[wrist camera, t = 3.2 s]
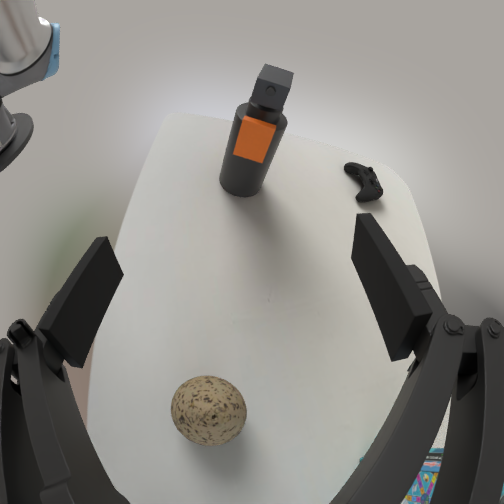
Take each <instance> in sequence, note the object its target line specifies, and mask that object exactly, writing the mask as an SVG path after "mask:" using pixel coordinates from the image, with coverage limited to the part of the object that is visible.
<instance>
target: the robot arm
mask: <svg viewBox="0 0 504 504" xmlns="http://www.w3.org/2000/svg"><path fill="white" fill-rule="evenodd" d="M59 37H60V26H59V23H51V24H49V23H48V21H46V20H45V19H43V18H40V17H39V16H38V12H37V8H36V4H35V0H0V155H1V154H2V153H3V152H4V151H5V150H6V149H7V148H8V147H9V146H10V144H11V143H12V142H13V140H14V139H15V137H16V135H17V132H18V126H17V123H16V120H15V118H14V117H13V116H12V115H11V114H10V112H9V111H8V110H7V109H6V107H5V106H4V105H3V102H2V99H1V98H3V97H4V96H6V95H8V94H11V93H13V92H15V91H17V90H19V89H21V88H24V87H26V86H28V85H30V84H33V83H36V82H38V81H43V80H44V79H46V78H48V77H50V76H52V75H54V74H55V73H56V72H57V71H58V68H59ZM351 259H352V262H353V264H354V266H355V268H356V271H357V273H358V275H359V278H360V280H361V282H362V285H363V287H364V289H365V292H366V294H367V297H368V299H369V302H370V304H371V307H372V309H373V312H374V314H375V317H376V320H377V322H378V325H379V328H380V330H381V333H382V336H383V339H384V342H385V344H386V347H387V350H388V353H389V356H390V359H391V362H393V361H397V360H401V359H406V358H408V357H409V355H410V353H411V352H412V350H413V351H414V354H415V356H416V358H415V359H414V361H413V363H412V364H411V366H410V367H409V369H408V370H407V371H409V373H408V375H407V378H406V380H405V382H404V384H403V387H402V389H401V391H400V393H399V395H398V397H397V399H396V401H395V403H394V405H393V407H392V409H391V411H390V413H389V415H388V417H387V419H386V421H385V422H384V424H383V426H382V428H381V430H380V431H379V433H378V435H377V437H376V438H375V440H374V442H373V443H372V445H371V447H370V448H369V450H368V451H367V453H366V454H365V456H364V458H363V459H362V461H361V462H360V464H359V465H358V467H357V468H356V469H355V471H354V472H353V474H352V475H351V476H350V478H349V479H348V481H347V482H346V483H345V485H344V486H343V487H342V489H341V490H340V491H339V492H338V494H337V495H336V496H335V497H334V499H333V500H332V501H331V502H330V503H329V504H401V503H402V501H403V500H404V498H405V496H406V495H407V493H408V491H409V490H410V488H411V486H412V484H413V483H414V481H415V479H416V477H417V475H418V474H419V472H420V470H421V468H422V466H423V464H424V462H425V460H426V458H427V456H428V454H429V451H430V449H431V447H432V445H433V443H434V440H435V438H436V436H437V433H438V431H439V428H440V426H441V423H442V420H443V418H444V415H445V412H446V409H447V406H448V403H449V400H450V397H451V406H450V415H449V422H448V429H447V435H446V441H445V446H444V451H443V456H442V461H441V465H440V469H439V473H438V477H437V480H436V484H435V487H434V491H433V494H432V497H431V500H430V503H429V504H499V502H500V498H501V494H502V490H503V485H504V327H503V326H502V325H501V323H500V322H499V321H497V320H496V319H493V318H486V319H484V321H483V322H482V323H481V325H480V326H468V325H464V323H463V322H462V321H461V319H459V318H458V317H456V316H455V315H451V314H448V313H447V311H446V309H445V308H444V305H443V304H442V302H441V300H440V299H439V297H438V295H437V293H436V292H435V290H434V289H433V287H432V285H431V284H430V282H428V279H427V277H426V276H425V274H424V273H423V271H422V270H420V269H419V268H418V267H417V266H415V265H405V263H404V262H403V260H402V258H401V257H400V255H399V254H398V252H397V251H396V249H395V248H394V246H393V245H392V243H391V242H390V240H389V239H388V237H387V236H386V234H385V233H384V231H383V230H382V228H381V227H380V226H379V224H378V223H377V221H376V220H375V219H374V217H373V216H372V214H371V213H362V214H357V216H356V225H355V233H354V241H353V248H352V255H351ZM123 275H124V274H123V272H122V270H121V267H120V265H119V263H118V261H117V259H116V256H115V254H114V252H113V249H112V247H111V245H110V242H109V240H108V237H107V236H106V237H98V238H96V239H95V240H94V242H93V243H92V244H91V246H90V247H89V249H88V250H87V252H86V253H85V254H84V255H83V257H82V258H81V260H80V261H79V263H78V264H77V266H76V267H75V268H74V270H73V271H72V273H71V275H70V276H69V278H68V279H67V281H66V282H65V284H64V285H63V287H62V288H61V290H60V291H59V292H58V293H57V294H56V295H55V296H54V298H53V299H52V301H51V302H50V305H49V306H48V308H47V311H45V313H44V314H43V316H42V318H41V320H40V322H39V323H38V325H37V327H36V329H35V331H33V330H32V329H31V327H30V326H29V325H28V324H27V322H26V321H25V320H24V319H18V320H16V321H15V322H14V323H12V325H11V326H10V327H9V329H8V332H7V336H8V338H9V339H10V340H11V341H12V342H13V345H12V344H11V343H10V341H9V340H8V339H6V338H2V339H1V340H0V504H130V503H129V501H128V500H127V499H126V498H125V497H124V496H123V495H121V494H120V493H119V492H118V491H117V490H116V489H115V488H114V486H113V484H112V483H111V481H110V479H109V477H108V475H107V473H106V471H105V470H104V468H103V466H102V464H101V462H100V460H99V457H98V455H97V453H96V451H95V449H94V447H93V444H92V442H91V440H90V438H89V435H88V433H87V430H86V428H85V425H84V423H83V420H82V418H81V415H80V412H79V409H78V407H77V404H76V401H75V398H74V395H73V391H72V388H71V385H70V381H69V378H68V374H67V371H66V368H65V366H64V365H63V364H62V363H63V361H64V359H65V360H66V361H67V362H68V363H69V364H70V366H72V367H78V368H83V366H84V363H85V360H86V358H87V355H88V353H89V350H90V348H91V345H92V343H93V340H94V338H95V336H96V333H97V331H98V328H99V326H100V324H101V322H102V319H103V317H104V315H105V313H106V311H107V308H108V306H109V304H110V302H111V300H112V298H113V296H114V293H115V291H116V289H117V287H118V285H119V283H120V281H121V279H122V277H123ZM11 375H12V376H14V378H16V379H17V384H15V383H14V382H13V381H12V380H11ZM451 394H452V395H451Z"/></svg>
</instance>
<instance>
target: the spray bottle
mask: <svg viewBox="0 0 504 504" xmlns="http://www.w3.org/2000/svg"><path fill="white" fill-rule="evenodd" d="M293 74H294V73H292V72H290V71H287V70H284V69H281V68H278V67H274V66H271V65H268V64H265V65H264V67H263V68H262V70H261V72H260V74H259V76H258V77H257V80H256V83H255V86H254V90H253V93H252V96H251V97H250V99H249V102H248V103H244V104H241V105H240V106H239V107H238V108H237V110H236V113H235V117H234V121H233V125H232V128H231V132H230V136H229V140H228V144H227V148H226V152H225V156H224V160H223V164H222V169H221V173H220V178H219V179H220V183H221V185H222V187H223V188H224V189H225V190H226V191H227V192H229V193H230V194H232V195H235V196H239V197H249V196H253V195H255V194H256V193H257V192H258V191H259V190H260V188H261V186H262V183H263V181H264V178H265V176H266V174H267V171H268V169H269V167H270V164H271V162H272V159H273V157H274V155H275V152H276V150H277V148H278V145H279V143H280V141H281V138H282V136H283V134H284V131H285V129H286V127H287V119H286V117H285V116H284V115H283V114H282V111H283V105H284V103H285V101H286V98H287V96H288V93H289V91H290V88H291V83H292V79H293ZM244 116H248V117H251V118H254V119H258V120H261V121H264V122H267V123H270V124H273V125H276V130H275V132H274V135H273V137H272V140H271V142H270V145H269V148H268V150H267V153H266V155H265V158H264V160H263V163H259V162H256V161H253V160H250V159H247V158H244V157H240V156H237V155H234V154H233V152H234V149H235V145H236V141H237V138H238V134H239V131H240V127H241V124H242V120H243V118H244Z"/></svg>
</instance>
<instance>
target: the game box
mask: <svg viewBox="0 0 504 504" xmlns="http://www.w3.org/2000/svg"><path fill="white" fill-rule="evenodd" d="M443 451H444V448H431V449H430V451H429V454H428V456H427V458H426V460H425V462H424V464H423V466H422V468H421V470H420V472H419V474H418V475H417V477H416V479H415V481H414V483H413V484H412V486H411V488H410V490H409V491H408V493H407V495H406V496H405V498H404V500H403V501H402V503H401V504H429V503H430V500H431V497H432V494H433V491H434V487H435V484H436V480H437V477H438V473H439V469H440V465H441V461H442V456H443ZM363 458H364V457H363ZM363 458H360V462H361V461H362V459H363ZM499 504H504V485H503V490H502V494H501V498H500V502H499Z"/></svg>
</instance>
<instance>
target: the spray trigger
mask: <svg viewBox="0 0 504 504" xmlns="http://www.w3.org/2000/svg"><path fill="white" fill-rule="evenodd" d="M275 130H276V125H273V124H270V123H267V122H264V121H261V120H258V119H254V118H251V117H248V116H244V118H243V120H242V124H241V127H240V131H239V134H238V138H237V141H236V145H235V149H234V152H233V154H234V155H237V156H240V157H244V158H247V159H250V160H253V161H256V162H259V163H263V160H264V158H265V155H266V153H267V150H268V148H269V145H270V142H271V140H272V137H273V135H274V132H275Z"/></svg>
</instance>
